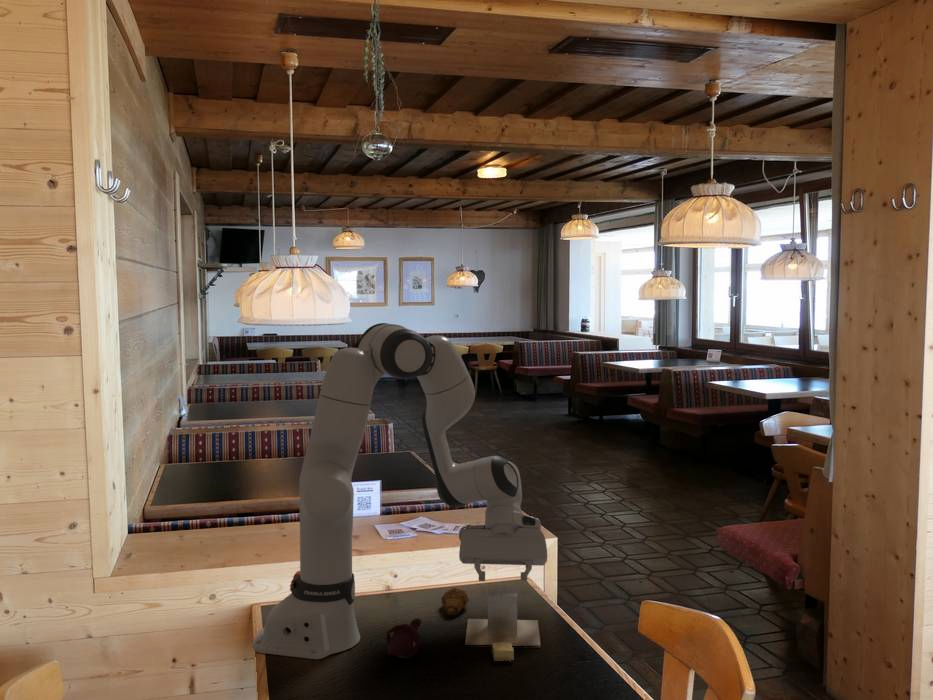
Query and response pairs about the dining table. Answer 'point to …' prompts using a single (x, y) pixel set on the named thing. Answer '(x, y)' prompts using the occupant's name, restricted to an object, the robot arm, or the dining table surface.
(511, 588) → the cover
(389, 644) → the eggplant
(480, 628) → the board
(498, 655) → the block
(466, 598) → the croissant
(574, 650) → the dining table surface
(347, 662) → the dining table surface
